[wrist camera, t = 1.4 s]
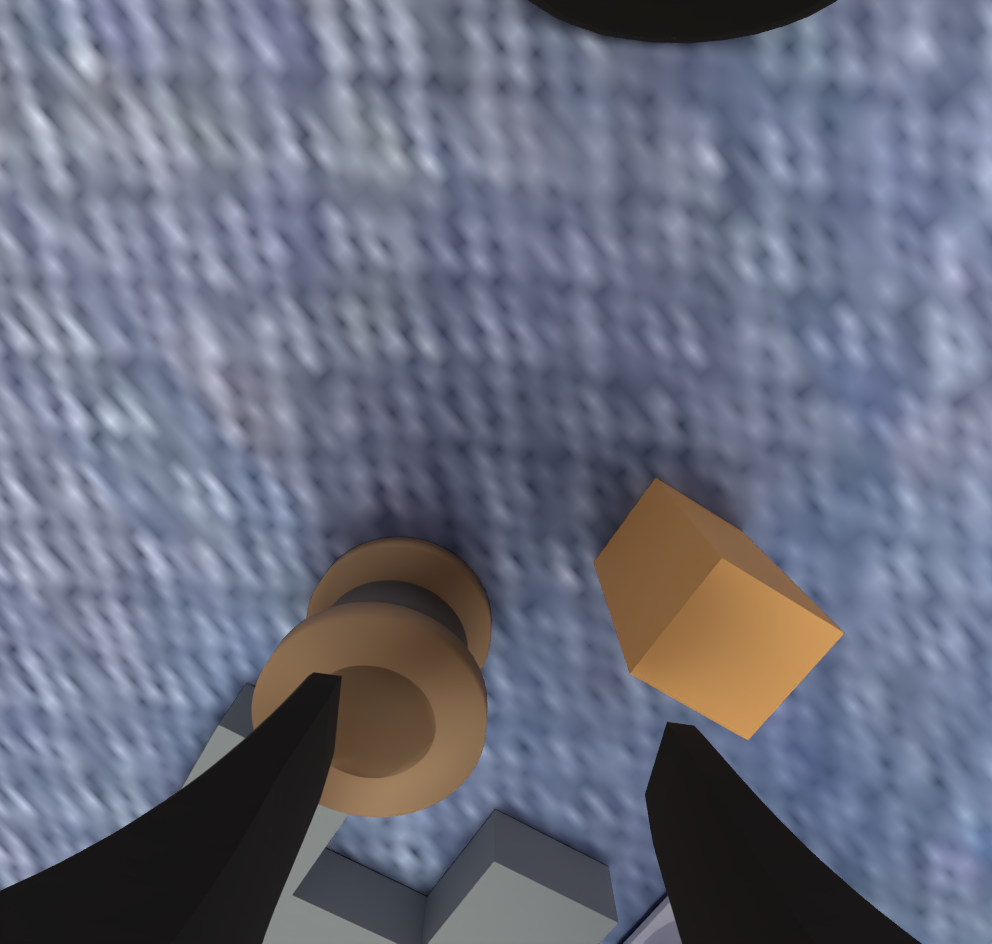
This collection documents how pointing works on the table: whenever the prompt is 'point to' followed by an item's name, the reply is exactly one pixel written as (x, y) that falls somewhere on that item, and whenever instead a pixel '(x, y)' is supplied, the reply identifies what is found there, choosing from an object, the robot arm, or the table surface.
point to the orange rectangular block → (708, 612)
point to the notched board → (454, 900)
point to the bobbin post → (392, 674)
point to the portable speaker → (681, 17)
